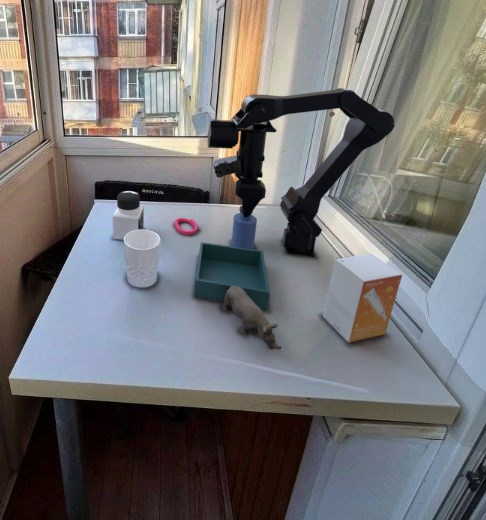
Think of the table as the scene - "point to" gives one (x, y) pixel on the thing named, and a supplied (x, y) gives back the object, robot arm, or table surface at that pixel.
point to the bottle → (243, 230)
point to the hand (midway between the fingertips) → (244, 208)
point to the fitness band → (188, 222)
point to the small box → (361, 296)
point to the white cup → (142, 257)
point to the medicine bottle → (127, 214)
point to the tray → (231, 273)
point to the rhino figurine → (250, 315)
